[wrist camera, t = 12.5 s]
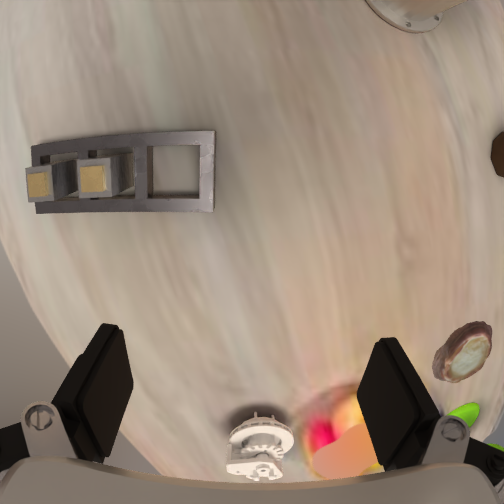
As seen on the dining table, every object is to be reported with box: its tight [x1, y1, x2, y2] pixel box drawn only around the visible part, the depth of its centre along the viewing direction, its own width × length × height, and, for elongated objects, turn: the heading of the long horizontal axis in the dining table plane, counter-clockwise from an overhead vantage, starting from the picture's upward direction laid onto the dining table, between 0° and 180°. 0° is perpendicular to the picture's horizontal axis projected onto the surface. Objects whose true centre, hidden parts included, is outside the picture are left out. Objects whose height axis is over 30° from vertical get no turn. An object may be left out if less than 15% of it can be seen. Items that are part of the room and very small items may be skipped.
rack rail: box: [31, 131, 216, 214], centre depth 34 cm, size 24×9×2 cm, turn 88°
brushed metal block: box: [77, 153, 134, 198], centre depth 32 cm, size 4×4×8 cm
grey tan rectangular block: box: [26, 159, 78, 202], centre depth 31 cm, size 4×4×8 cm
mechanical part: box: [226, 412, 294, 481], centre depth 46 cm, size 11×12×12 cm
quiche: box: [432, 321, 492, 383], centre depth 47 cm, size 21×20×4 cm
